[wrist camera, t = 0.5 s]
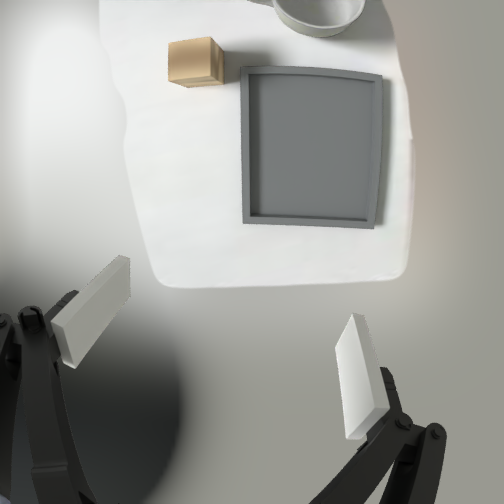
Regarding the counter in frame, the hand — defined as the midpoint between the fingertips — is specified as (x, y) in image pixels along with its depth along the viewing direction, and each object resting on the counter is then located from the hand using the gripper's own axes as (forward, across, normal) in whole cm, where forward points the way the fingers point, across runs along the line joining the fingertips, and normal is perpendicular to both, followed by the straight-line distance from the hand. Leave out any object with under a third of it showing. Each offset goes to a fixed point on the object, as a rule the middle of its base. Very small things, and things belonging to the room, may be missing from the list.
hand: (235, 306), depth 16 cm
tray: (+26, +4, +8) cm, 27 cm away
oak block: (+26, -12, +16) cm, 33 cm away
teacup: (+26, -1, +27) cm, 38 cm away
